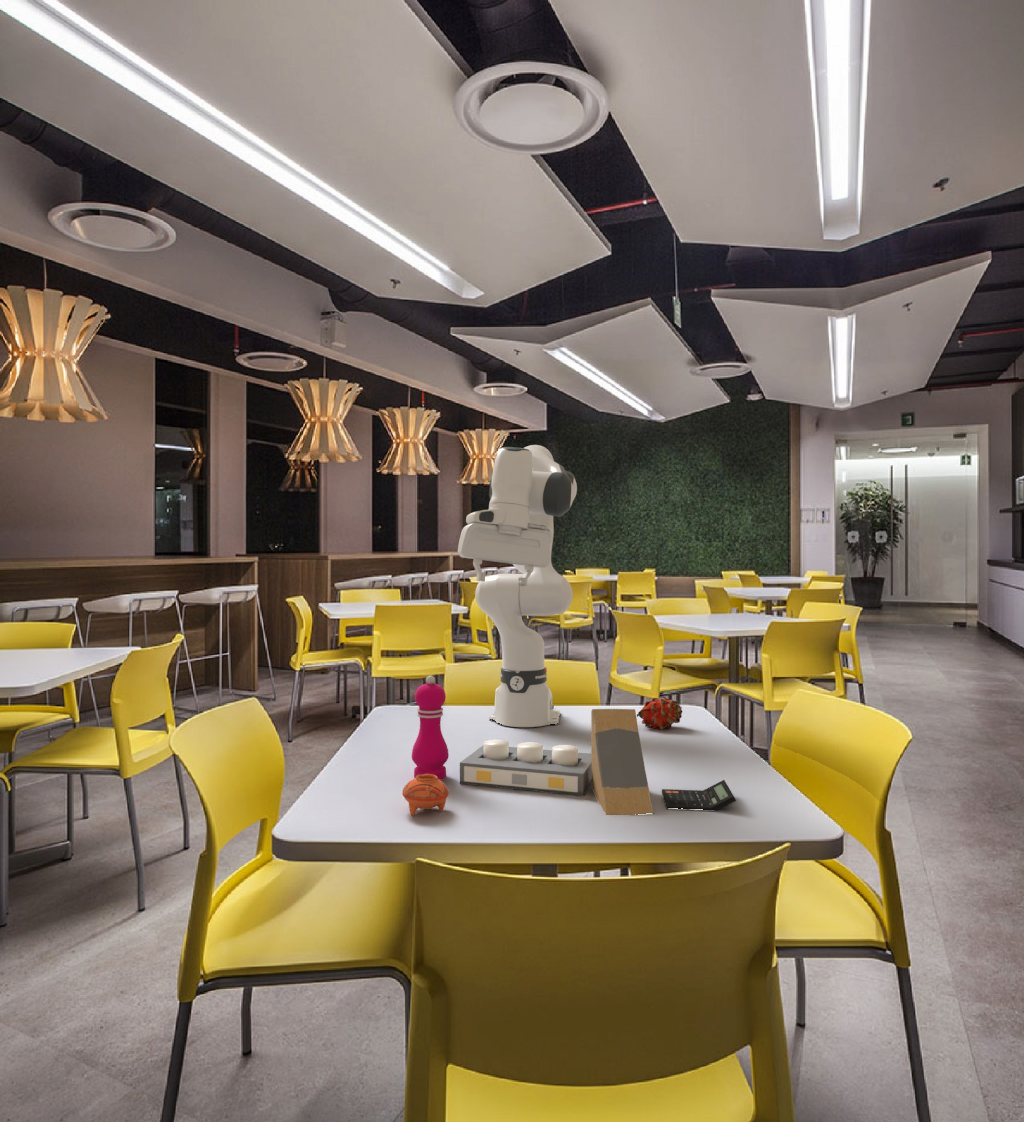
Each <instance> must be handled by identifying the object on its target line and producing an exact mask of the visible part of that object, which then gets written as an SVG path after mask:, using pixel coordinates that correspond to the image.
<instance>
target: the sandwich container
mask: <svg viewBox="0 0 1024 1122" xmlns="http://www.w3.org/2000/svg"><path fill="white" fill-rule="evenodd" d="M637 718H638V717H637V712H636V709H633V708H592V709H591V719H590V720H591V722H590V723H591V727H590V728H591V730H590V731H591V740H590V741H591V744H590V745H591V754H592V783H591V789H592V791H594V792H593V794H594V796H595V798H597V799H596V800H597V802H598V804H599V803H600V804H599V805H601V806H600V807H601V810H602V811H603V812H605V813H604V814H605V816H607V815H631V816H639V815H638V814H646V813H654V809H653V803H652V799H651V798H652V797H651V792H650V788H649V783H648V779H647V773H646V768H645V767H646V766H645V761H644V756H643V751H642V744H641V743H642V742H641V738H640V734H639V733H640V732H639V726H638V719H637ZM635 814H636V815H635Z"/></svg>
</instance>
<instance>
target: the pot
mask: <svg viewBox="0 0 1024 1122" xmlns="http://www.w3.org/2000/svg"><path fill="white" fill-rule="evenodd" d="M401 793H402V796H403V797H404V799H405V801H406V802H407V803H408V808H409V813H410V816H412V817H415V816H416V812H417V810H418V809H421V810H430V809H434V808H436V807H437V808H439V809H438V810H439V811H438V812H439V813H441V812H443V811H444V809H445V804H446V801H447V798H448V796H449V795H450V790H449V788H448V786H447V785H446V784H445V783H444V782H443V780H439V779H438V777H437V776H436V775H433V774H425V775H417V776H416V778H413V779H411V780H409V781H408V782H407V783H406V784H405V785H404V787H403V788H402V792H401Z"/></svg>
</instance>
